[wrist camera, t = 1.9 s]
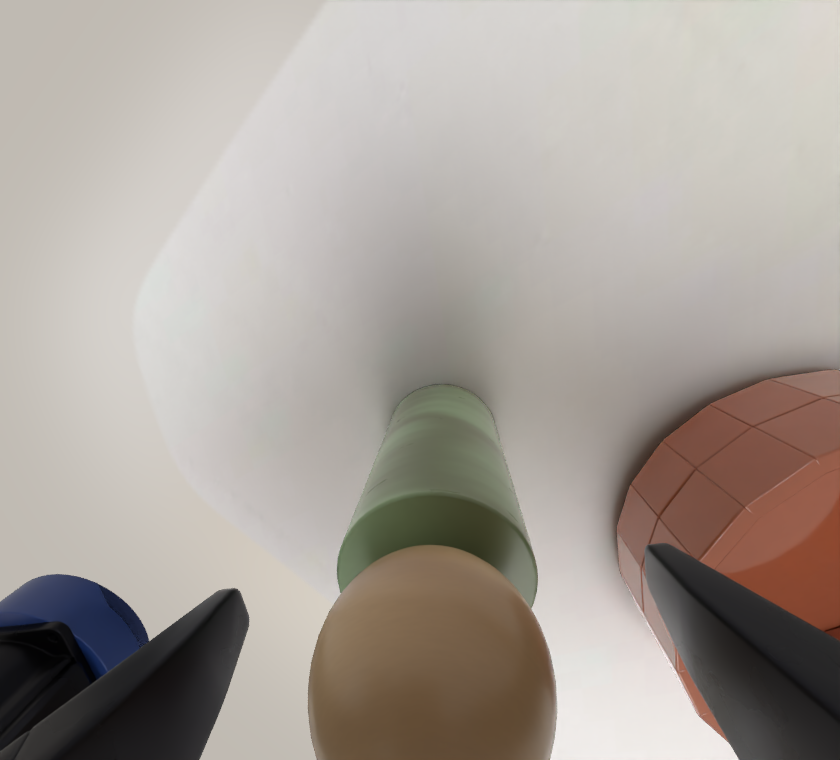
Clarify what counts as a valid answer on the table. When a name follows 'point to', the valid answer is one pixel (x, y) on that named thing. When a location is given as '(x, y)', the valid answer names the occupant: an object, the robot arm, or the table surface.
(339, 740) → the doll
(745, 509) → the bowl
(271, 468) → the table surface
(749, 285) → the table surface
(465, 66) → the table surface
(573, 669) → the table surface
